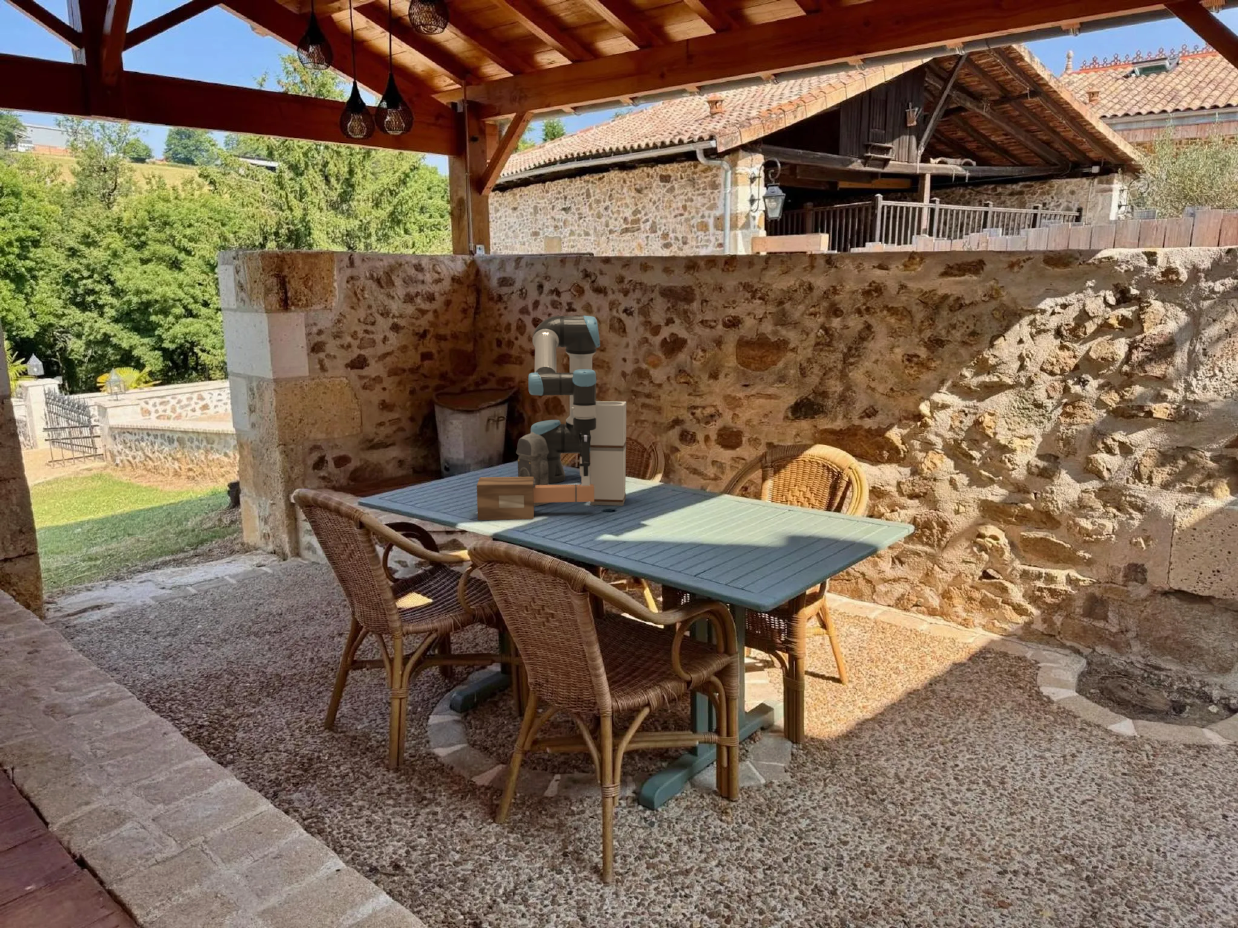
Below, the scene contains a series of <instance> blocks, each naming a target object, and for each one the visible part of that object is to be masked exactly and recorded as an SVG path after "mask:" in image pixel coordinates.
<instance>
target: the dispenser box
mask: <svg viewBox="0 0 1238 928" xmlns="http://www.w3.org/2000/svg"><path fill="white" fill-rule="evenodd" d="M533 487H535V479H534V477H518V476H492V477H489V476H488V477H482V476H481V477H480V476H479V478H478V480H477V484H476V505H477V508H476V509H477V521H481V520H482V521H489V520H490V521H497V520H534V519H535V518H534V517H535V506H534V500H533Z"/></svg>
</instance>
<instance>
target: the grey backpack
mask: <svg viewBox="0 0 1238 928" xmlns="http://www.w3.org/2000/svg"><path fill="white" fill-rule="evenodd" d="M516 447H517V449H516V451H515V454H517V455H518V458H517V477H534V479H535V485H549V483H548V460H547V454H548V453H549V451H548V447H547V443H546V440H545V438H543V437H542V436H540V435H538V434H535V433H534V432H531V431H530V433H528V434H525V435H523V436H522V437H520V438H519V439H518V442H517V446H516ZM550 503H551V502H541V503H534V507H537V506H542V505H547V504H550Z"/></svg>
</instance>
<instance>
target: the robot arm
mask: <svg viewBox="0 0 1238 928" xmlns="http://www.w3.org/2000/svg"><path fill="white" fill-rule="evenodd" d="M598 325H599V323H598V320H597V318H596V317H595V316H592V315H591V316H590V315H553V316H551V317H548V318H546V319H544V320H542V321H541V322H540V323H539V324H538V326H536V328H535V329H534V332H533V335H532V345H533V347H534V372H531V373H529V374H528V392H529V394H530V395H531V396H569V416H568V417H567V418H566V419H565V423H561V421H560V420H559V419H549V420H541V421H538V422H535V423H533V424H532V425H531V427H530V433H531V432H534V433H535V434H538V435H540V436H542V437H543V438H545V440H546V443H547V447H548V451H549V453H548V454H547V460H548V484H557V483H560V482H564V481H566V473H565V469H564V466H563V464H562V460H561V459H562V457H561V454H579V476H580V477H581V478H580V479H581V485H582V486H590V441H591V435H590V430H594V429H596V418H595V416H596V401H597V400H596V399H597V373H596V371H595V370H594V369H593V356H594V355H595V354H596V353H597V349H598V348H600V347H601V342H600V341H601V340H600V333H599V326H598ZM557 348H565V353H566V354H567V355H568V356H569V372H557ZM563 480H564V481H563Z"/></svg>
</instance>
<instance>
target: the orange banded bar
mask: <svg viewBox="0 0 1238 928" xmlns="http://www.w3.org/2000/svg"><path fill="white" fill-rule="evenodd" d="M533 500H534V503H541V502H550V503H586V502H587V503H588V502H589V503H590V502H594V484H590V486H582V485H581V484H548V485H535V487H533Z"/></svg>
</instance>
